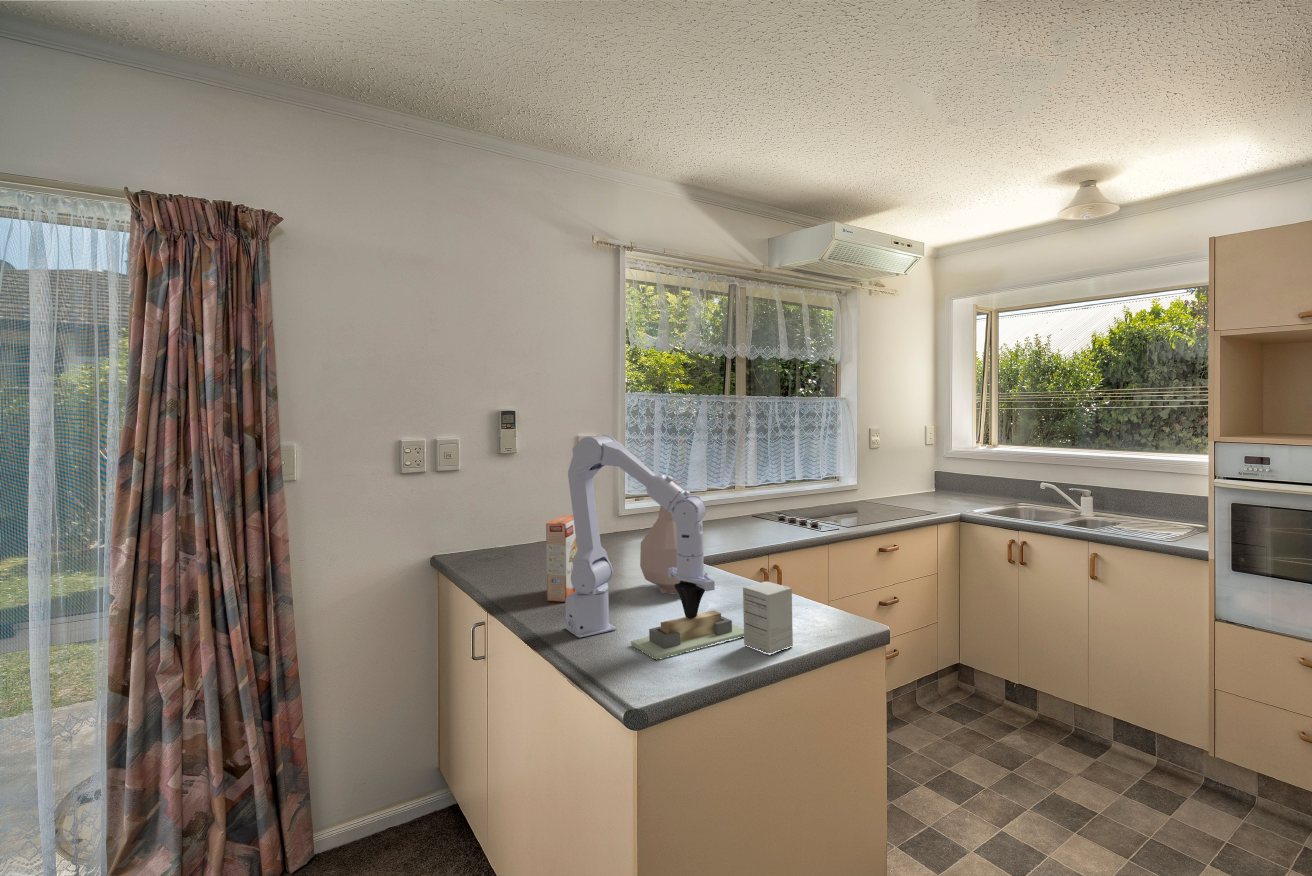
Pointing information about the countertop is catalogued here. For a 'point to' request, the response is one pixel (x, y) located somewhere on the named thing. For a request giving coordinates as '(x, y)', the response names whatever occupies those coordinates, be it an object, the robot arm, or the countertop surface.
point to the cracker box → (560, 557)
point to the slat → (692, 625)
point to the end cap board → (671, 645)
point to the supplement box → (767, 616)
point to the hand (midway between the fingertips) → (691, 616)
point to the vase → (660, 552)
